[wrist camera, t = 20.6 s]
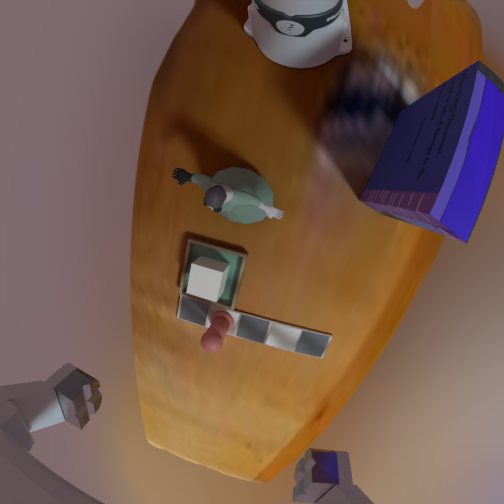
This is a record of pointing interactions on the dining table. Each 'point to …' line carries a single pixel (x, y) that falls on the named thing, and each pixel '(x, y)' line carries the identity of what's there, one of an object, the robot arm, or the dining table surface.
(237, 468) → the dining table surface
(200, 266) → the die
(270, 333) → the track board
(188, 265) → the dice tray
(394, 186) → the cereal box
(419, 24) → the dining table surface
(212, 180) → the character figurine
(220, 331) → the pawn
